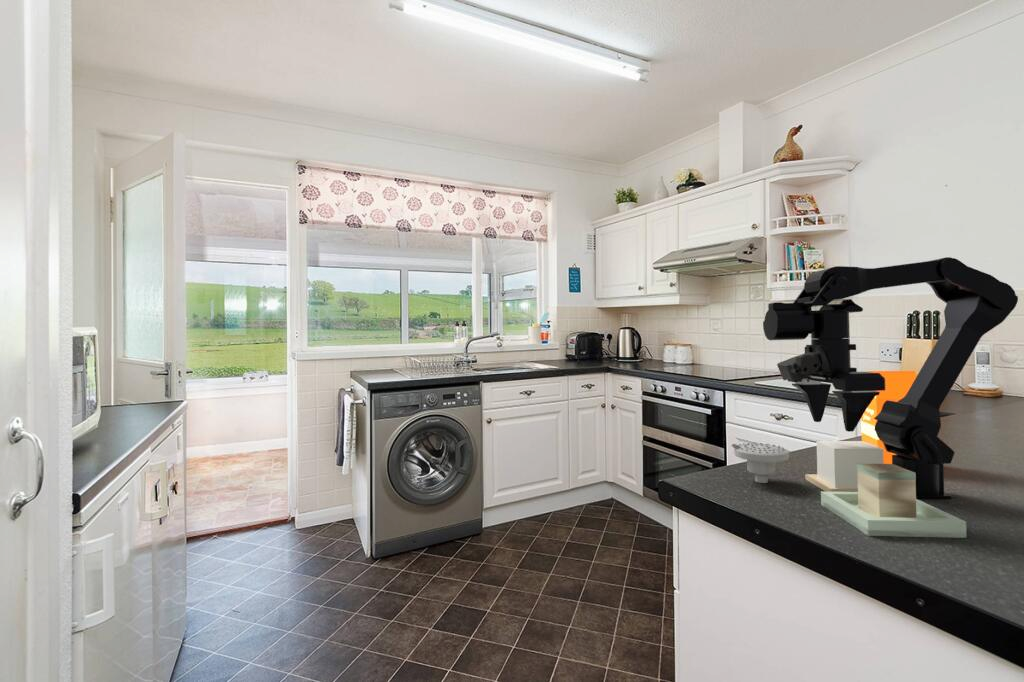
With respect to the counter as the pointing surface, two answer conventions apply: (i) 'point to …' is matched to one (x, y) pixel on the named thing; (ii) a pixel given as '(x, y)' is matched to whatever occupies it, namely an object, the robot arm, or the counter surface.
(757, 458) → the showerhead
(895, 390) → the orange juice
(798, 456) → the counter surface
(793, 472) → the counter surface
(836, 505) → the parts tray
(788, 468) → the counter surface
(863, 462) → the butter dish
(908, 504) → the block
